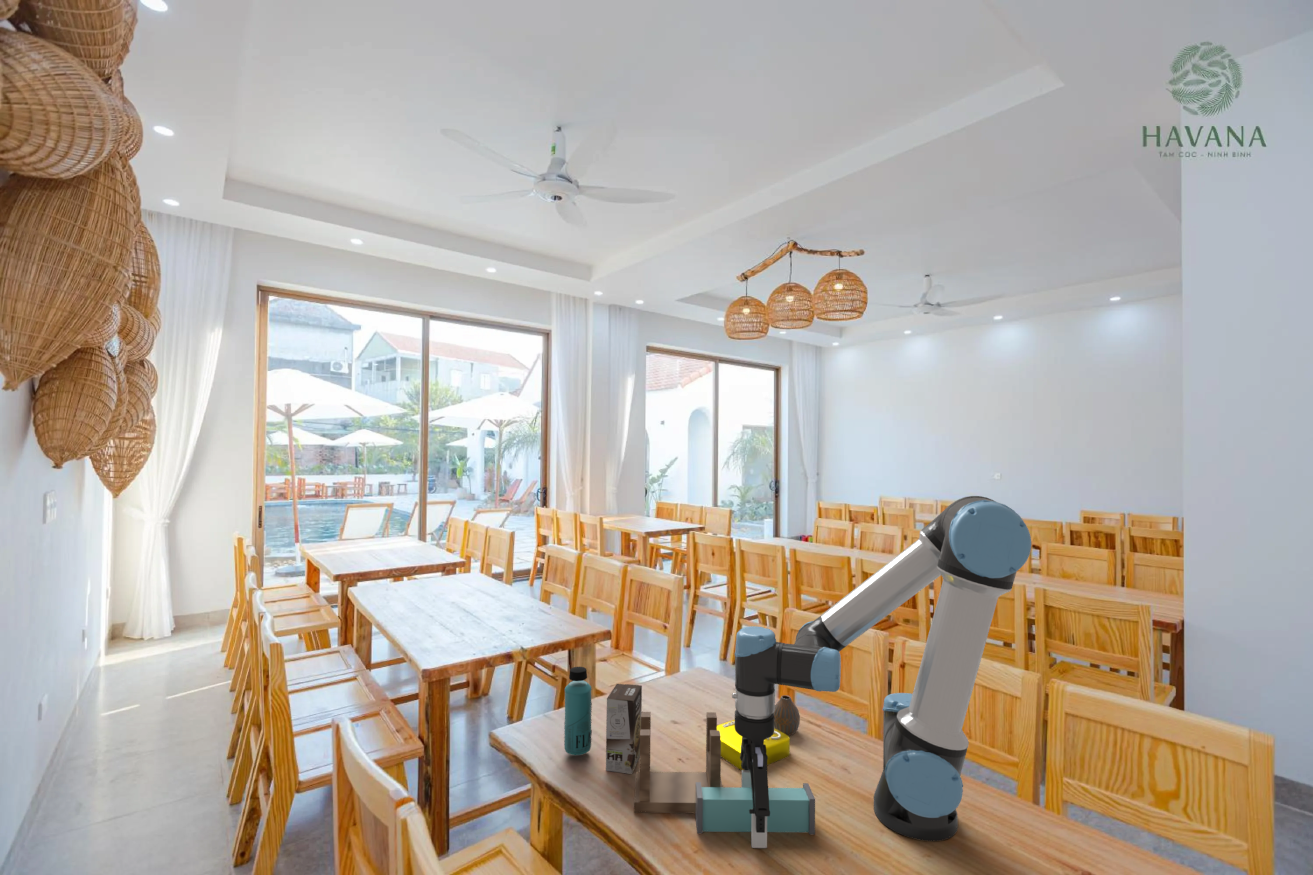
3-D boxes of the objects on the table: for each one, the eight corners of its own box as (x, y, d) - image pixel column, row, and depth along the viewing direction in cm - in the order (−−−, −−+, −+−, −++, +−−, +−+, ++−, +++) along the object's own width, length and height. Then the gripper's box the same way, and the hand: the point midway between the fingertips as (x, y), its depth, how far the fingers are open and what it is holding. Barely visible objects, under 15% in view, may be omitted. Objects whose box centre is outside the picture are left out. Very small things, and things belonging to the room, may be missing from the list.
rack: (719, 781, 130) (720, 711, 130) (725, 813, 119) (726, 736, 119) (636, 780, 130) (636, 710, 130) (634, 812, 119) (634, 735, 119)
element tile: (749, 730, 154) (750, 711, 154) (793, 756, 141) (793, 735, 141) (703, 746, 145) (703, 726, 145) (745, 775, 133) (745, 753, 133)
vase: (803, 729, 153) (803, 695, 153) (794, 741, 147) (794, 705, 147) (777, 722, 157) (777, 689, 157) (767, 733, 151) (767, 698, 151)
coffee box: (633, 774, 132) (633, 700, 132) (604, 771, 133) (605, 698, 133) (642, 753, 141) (643, 684, 141) (615, 750, 142) (616, 682, 142)
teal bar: (807, 816, 118) (808, 783, 118) (814, 834, 112) (815, 798, 112) (695, 815, 118) (695, 782, 118) (697, 833, 112) (697, 797, 112)
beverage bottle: (573, 765, 135) (574, 676, 136) (557, 753, 140) (558, 667, 140) (597, 755, 140) (598, 669, 140) (581, 744, 145) (582, 661, 145)
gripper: (727, 684, 127) (726, 786, 127) (744, 742, 103) (742, 868, 103) (762, 685, 127) (761, 787, 127) (787, 743, 103) (786, 869, 103)
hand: (753, 823), depth 115 cm, fingers open, 12 cm apart
